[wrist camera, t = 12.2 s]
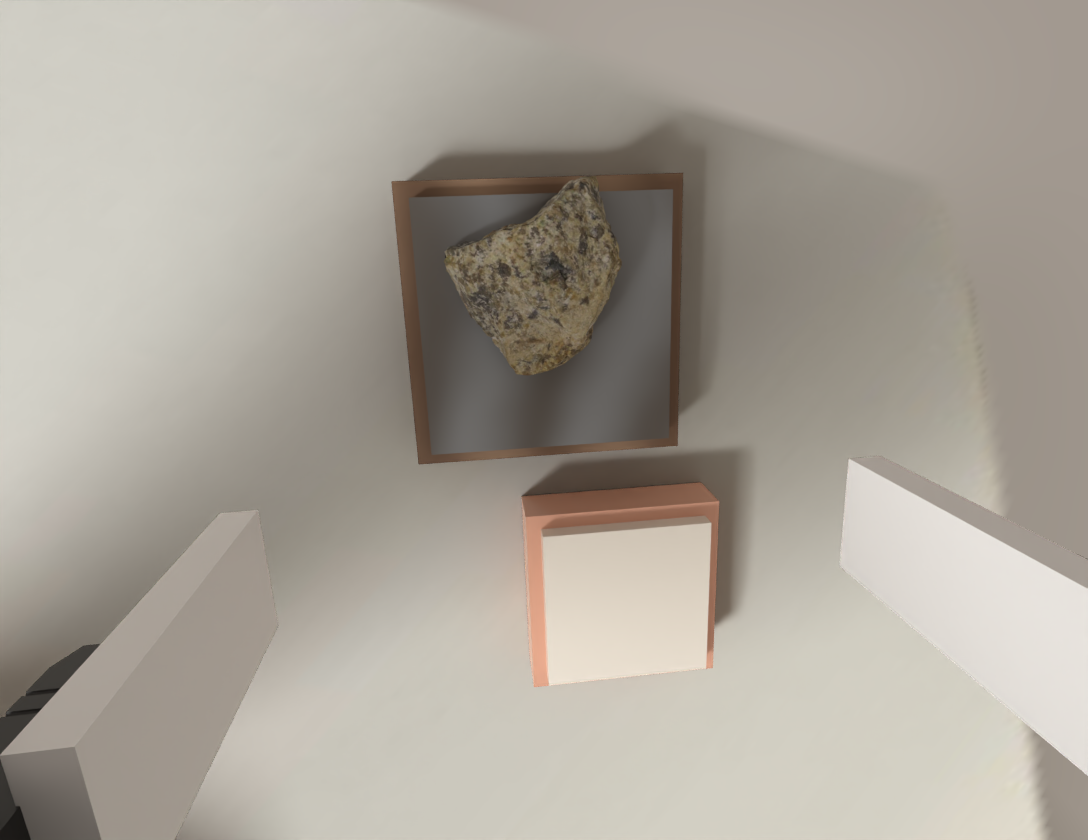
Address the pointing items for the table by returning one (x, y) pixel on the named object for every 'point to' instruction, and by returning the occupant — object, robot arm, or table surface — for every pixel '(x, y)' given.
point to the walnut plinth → (572, 388)
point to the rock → (541, 278)
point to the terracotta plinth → (620, 582)
